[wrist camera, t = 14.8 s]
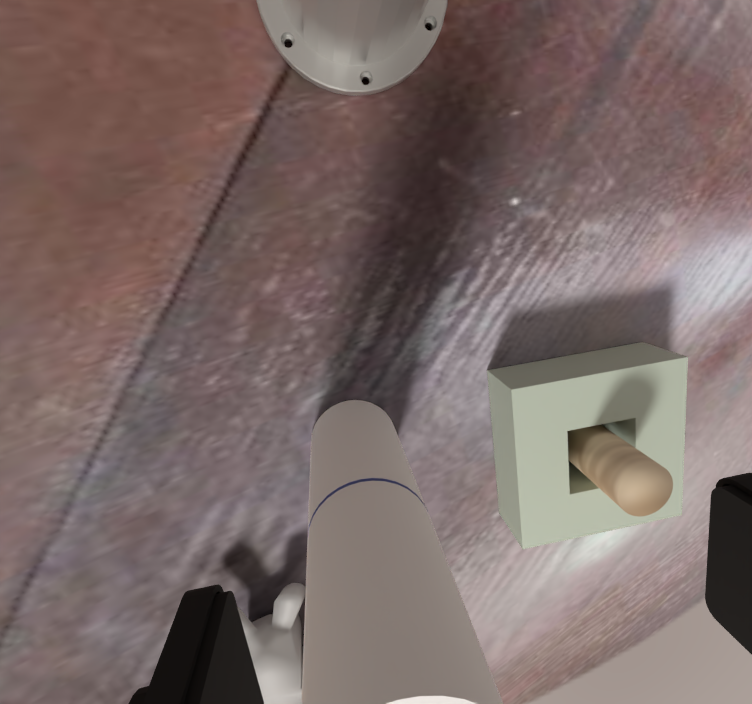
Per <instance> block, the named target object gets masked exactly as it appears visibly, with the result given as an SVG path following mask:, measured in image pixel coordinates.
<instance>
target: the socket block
mask: <svg viewBox="0 0 752 704" xmlns="http://www.w3.org/2000/svg"><path fill="white" fill-rule="evenodd" d="M687 366H688V357H687V356H684V355H680V354H677V353H674V352H671V351H668V350H665V349H662V348H659V347H656V346H653V345H650V344H647V343H644V342H640V343H634V344H629V345H623V346H618V347H612V348H607V349H601V350H596V351H590V352H585V353H579V354H574V355H568V356H563V357H557V358H552V359H546V360H541V361H535V362H530V363H524V364H519V365H513V366H508V367H502V368H497V369H491V370H487V375H488V387H489V399H490V410H491V422H492V434H493V445H494V457H495V469H496V481H497V492H498V504H499V514H500V515H501V517H502V518H503V520H504V521H505V523H506V524H507V526H508V527H509V529H510V531H511V532H512V534H513V535H514V537H515V538H516V540H517V541H518V543H519V544H520V546H521V548H522V549H527V548H531V547H536V546H541V545H545V544H550V543H555V542H559V541H564V540H568V539H573V538H578V537H582V536H587V535H592V534H596V533H601V532H606V531H610V530H615V529H619V528H624V527H629V526H633V525H638V524H643V523H647V522H652V521H657V520H661V519H666V518H670V517H675V516H680V515H682V496H683V470H684V444H685V418H686V392H687ZM596 425H602V426H604V427H605V428H607V429H608V430H610V431H611V432H613V433H614V434H616V435H617V436H619V437H620V438H622V439H623V440H624V441H626V442H627V443H629V444H630V445H632V446H633V447H635V448H636V449H638V450H639V451H641V452H642V453H644V454H645V455H647V456H648V457H649V458H651V459H652V460H654V461H655V462H657V463H658V464H660V465H661V466H663V467H664V468H666V469H667V470H668V471H669V473H670V474H671V476H672V479H673V490H672V493H671V496H670V498H669V499H668V501H667V502H666V504H665V505H664V506H663V507H662V508H661V509H659V510H658V511H656V512H655V513H653V514H650V515H647V516H639V517H638V516H632V515H630V514H628V513H626V512H625V511H624V510H623V509H621V508H620V507H619V506H618V505H617V504H616V503H615V502H614V501H613V500H612V499H611V498H609V497H608V496H607V495H606V494H605V493H604V492H603V491H602V490H601V489H600V488H598V487H597V486H596V485H595V484H594V483H593V482H592V481H591V480H590V479H589V478H588V477H586V476H585V475H584V474H583V473H582V472H581V471H580V470H579V469H578V468H577V467H575V466H574V465H573V464H572V463H571V462H570V461H569V460H568V433H567V431H570V430H575V429H580V428H585V427H590V426H596Z"/></svg>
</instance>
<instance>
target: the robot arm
mask: <svg viewBox="0 0 752 704" xmlns="http://www.w3.org/2000/svg"><path fill="white" fill-rule="evenodd" d="M256 1H257V5H258V9H259V12H260V15H261V18H262V21H263V23H264V26H265V29H266V32H267V33H268V35H269V37H270V39H271V41H272V42H273V44H274V46H275V48H276V49H277V51H278V52H279V53H280V54H281V56H282V57H283V58H284V59H285V61H286V62H287V63H288V64H289V66H291V67H292V68H293V69H294V70H295V71H296V72H297V73H299V74H300V75H301V76H302V77H303V78H305V79H306V80H308V81H310V82H311V83H313V84H315V85H316V86H318V87H320V88H323V89H325V90H328V91H331V92H334V93H337V94H344V95H351V96H359V95H371V94H375V93H378V92H381V91H385V90H388V89H390V88H391V87H393V86H395V85H397V84H399V83H401V82H402V81H404V80H405V79H406V78H407V77H408V76H410V75H411V74H412V73H413V72H414V71H415V70H416V69H417V68H418V67H419V66H420V64H421V63H422V62H423V61H424V59H425V58H426V57H427V55H428V54H429V52H430V50H431V48H432V47H433V45H434V44H435V42H436V39H437V37H438V35H439V33H440V31H441V28H442V25H443V21H444V17H445V13H446V8H447V3H448V0H256ZM426 25H428V26H430V28H431V31H429V30H427V29H426V28H425V26H426ZM286 42H291V43H292V47H290V48H287V47H285V43H286ZM362 79H367V80H368V82H369V84H368V85H364V84H362ZM705 600H706V604H707V607H708V609H709V611H710V613H711V614H712V615H713V617H714V618H715V619H716V620H717V621H718V622H719V623H720V624H721V625H722V626H723V627H724V628H725V629H726V630H727V631H728V632H729V633H730V634H731V635H732V636H733V637H734V638H735V639H736V640H737V641H738V642H739V643H740V644H741V645H742V646H744V647H745V649H747V650H748V651H749V652H750V653H751V654H752V473H746V474H741V475H736V476H732V477H727V478H723V479H720V480H719V481H718V482H717V484H716V488H715V489H714V490H713V491H712V494H711V505H710V523H709V540H708V558H707V575H706V592H705ZM129 704H264V701H263V697H262V693H261V690H260V686H259V683H258V679H257V675H256V672H255V668H254V665H253V661H252V658H251V654H250V650H249V647H248V643H247V640H246V636H245V633H244V629H243V626H242V622H241V618H240V615H239V611H238V608H237V604H236V601H235V597H234V594H233V592H232V591H227V592H223V589H222V587H221V586H220V585H213V586H209V587H204V588H199V589H194V590H190V591H187V592H186V593H185V594H184V596H183V597H182V600H181V603H180V605H179V608H178V611H177V613H176V616H175V619H174V621H173V624H172V627H171V629H170V632H169V634H168V637H167V640H166V642H165V645H164V648H163V650H162V653H161V656H160V658H159V661H158V664H157V666H156V669H155V672H154V674H153V677H152V680H151V682H150V685H149V686H147V687H143V688H140V689H138V690H137V691H136V693H135V694H134V695H133V696H132V698H131V700H130V702H129Z"/></svg>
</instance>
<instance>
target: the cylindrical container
mask: <svg viewBox="0 0 752 704" xmlns="http://www.w3.org/2000/svg"><path fill="white" fill-rule="evenodd" d="M302 704H503V701H502V699H501V696H500V694H499V691H498V689H497V686H496V684H495V681H494V679H493V676H492V674H491V671H490V669H489V666H488V663H487V661H486V658H485V656H484V653H483V651H482V648H481V646H480V643H479V641H478V638H477V636H476V633H475V630H474V628H473V625H472V623H471V620H470V618H469V615H468V613H467V610H466V608H465V605H464V603H463V600H462V598H461V595H460V592H459V590H458V587H457V585H456V582H455V580H454V577H453V575H452V572H451V570H450V567H449V564H448V562H447V559H446V557H445V554H444V552H443V549H442V547H441V544H440V542H439V539H438V536H437V534H436V531H435V529H434V526H433V524H432V521H431V519H430V516H429V514H428V511H427V508H426V506H425V503H424V501H423V498H422V496H421V493H420V491H419V488H418V486H417V483H416V481H415V478H414V476H413V473H412V470H411V468H410V465H409V463H408V460H407V458H406V455H405V453H404V450H403V448H402V445H401V442H400V440H399V437H398V435H397V432H396V430H395V427H394V425H393V423H392V421H391V419H390V417H389V416H388V415H387V413H386V412H385V411H384V410H382V409H381V408H380V407H379V406H377V405H375V404H373V403H370V402H367V401H362V400H349V401H344V402H340V403H338V404H336V405H334V406H332V407H330V408H329V409H328V410H326V411H325V412H324V413H323V414H322V415H321V416H320V417H319V419H318V420H317V422H316V424H315V426H314V429H313V432H312V438H311V460H310V487H309V515H308V542H307V569H306V595H305V622H304V649H303V677H302Z"/></svg>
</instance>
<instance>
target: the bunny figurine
mask: <svg viewBox="0 0 752 704" xmlns="http://www.w3.org/2000/svg"><path fill="white" fill-rule="evenodd" d="M305 595H306V587H305V586H304V585H303V584H301V583H291V584H289V585H287V586H286V587H284V588H283V590H282V591H281V593H280V594H279V596H278V597H277V599H276V600H275V601H274V609H273V614H270V615H266V616H264V617H262V618H260V619H257V620H255V621H253V622H251V621H250V620H249V619H248V618H247V617H246V616H245V614H244V613H243V612H242V611H241V610H240V609H239V608H238V607H237V608H238V611H239V615H240V618H241V622H242V626H243V629H244V633H245V636H246V640H247V643H248V647H249V650H250V654H251V658H252V661H253V665H254V668H255V672H256V675H257V679H258V683H259V686H260V690H261V693H262V697H263V701H264V704H302V677H303V649H304V646H302V628H301V620H300V617H299V615H298V613H299V610H300V608H301V605H302V603H303V600H304V598H305Z"/></svg>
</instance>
